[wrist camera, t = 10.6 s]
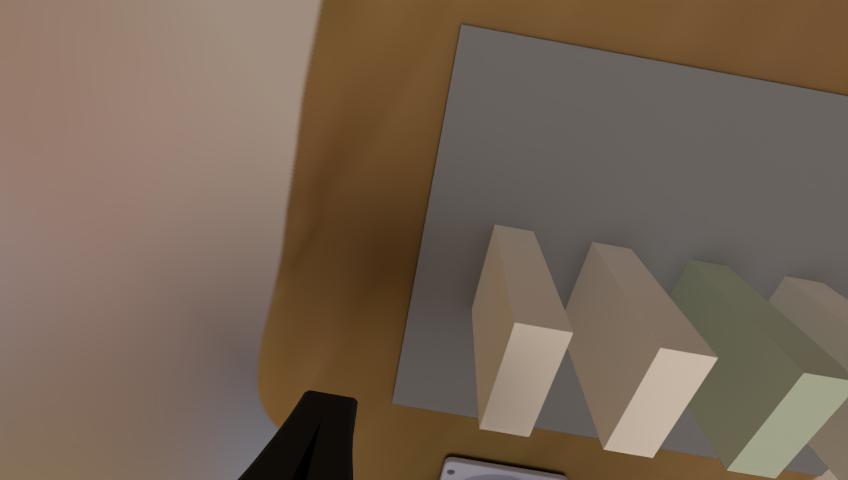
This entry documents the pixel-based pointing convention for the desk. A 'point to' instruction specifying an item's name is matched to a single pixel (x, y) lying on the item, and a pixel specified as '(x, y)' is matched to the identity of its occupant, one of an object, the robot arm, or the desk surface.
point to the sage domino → (755, 373)
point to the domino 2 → (632, 351)
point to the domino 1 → (516, 332)
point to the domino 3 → (836, 334)
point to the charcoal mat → (617, 196)
